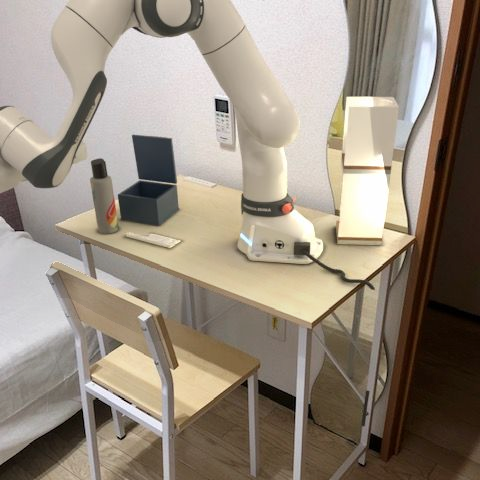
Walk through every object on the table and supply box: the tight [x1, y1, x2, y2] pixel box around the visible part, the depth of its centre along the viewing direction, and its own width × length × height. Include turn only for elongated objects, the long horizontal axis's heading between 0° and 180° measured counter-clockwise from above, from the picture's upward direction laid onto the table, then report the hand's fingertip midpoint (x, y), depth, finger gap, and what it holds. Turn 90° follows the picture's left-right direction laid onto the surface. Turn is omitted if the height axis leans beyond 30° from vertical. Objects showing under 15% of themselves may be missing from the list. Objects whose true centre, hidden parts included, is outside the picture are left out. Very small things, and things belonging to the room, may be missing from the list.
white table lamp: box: [335, 96, 400, 246], centre depth 148 cm, size 11×11×35 cm
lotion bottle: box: [89, 157, 119, 235], centre depth 159 cm, size 6×6×20 cm
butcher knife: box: [125, 231, 181, 249], centre depth 158 cm, size 5×15×1 cm, turn 59°
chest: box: [117, 179, 180, 227], centre depth 171 cm, size 13×13×8 cm
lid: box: [131, 134, 178, 185], centre depth 171 cm, size 13×13×5 cm
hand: (64, 140), depth 139 cm, fingers open, 8 cm apart
